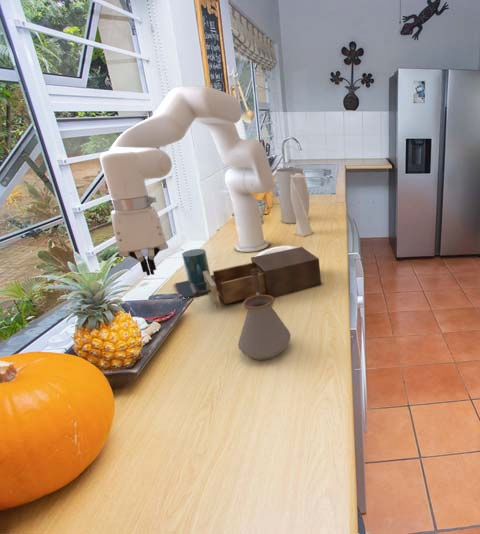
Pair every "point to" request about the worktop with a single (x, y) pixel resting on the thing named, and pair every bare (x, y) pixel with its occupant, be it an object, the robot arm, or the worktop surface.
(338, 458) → the worktop surface
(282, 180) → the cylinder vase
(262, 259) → the cabinet
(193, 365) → the worktop surface
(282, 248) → the banana
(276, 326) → the turkish coffee pot
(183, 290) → the mat
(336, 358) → the worktop surface
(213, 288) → the drawer
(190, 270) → the teal blue cylinder
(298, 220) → the skyscraper
